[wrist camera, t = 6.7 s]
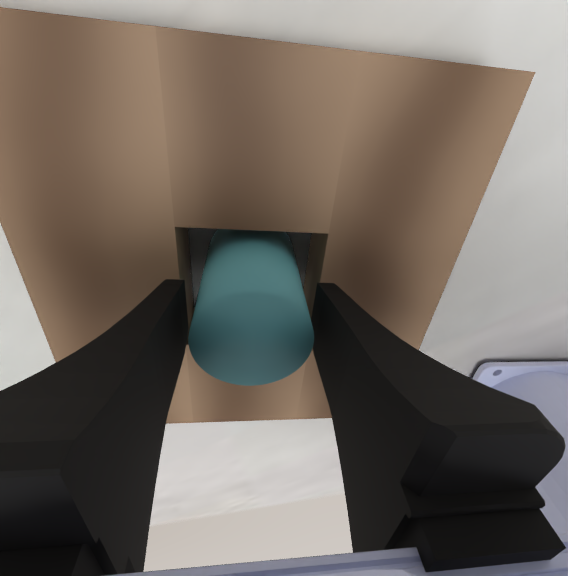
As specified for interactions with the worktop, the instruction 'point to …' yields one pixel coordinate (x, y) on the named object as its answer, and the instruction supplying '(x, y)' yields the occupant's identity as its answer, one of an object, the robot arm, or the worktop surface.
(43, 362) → the worktop surface
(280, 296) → the teal peg
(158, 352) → the robot arm
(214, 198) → the walnut collar plate
